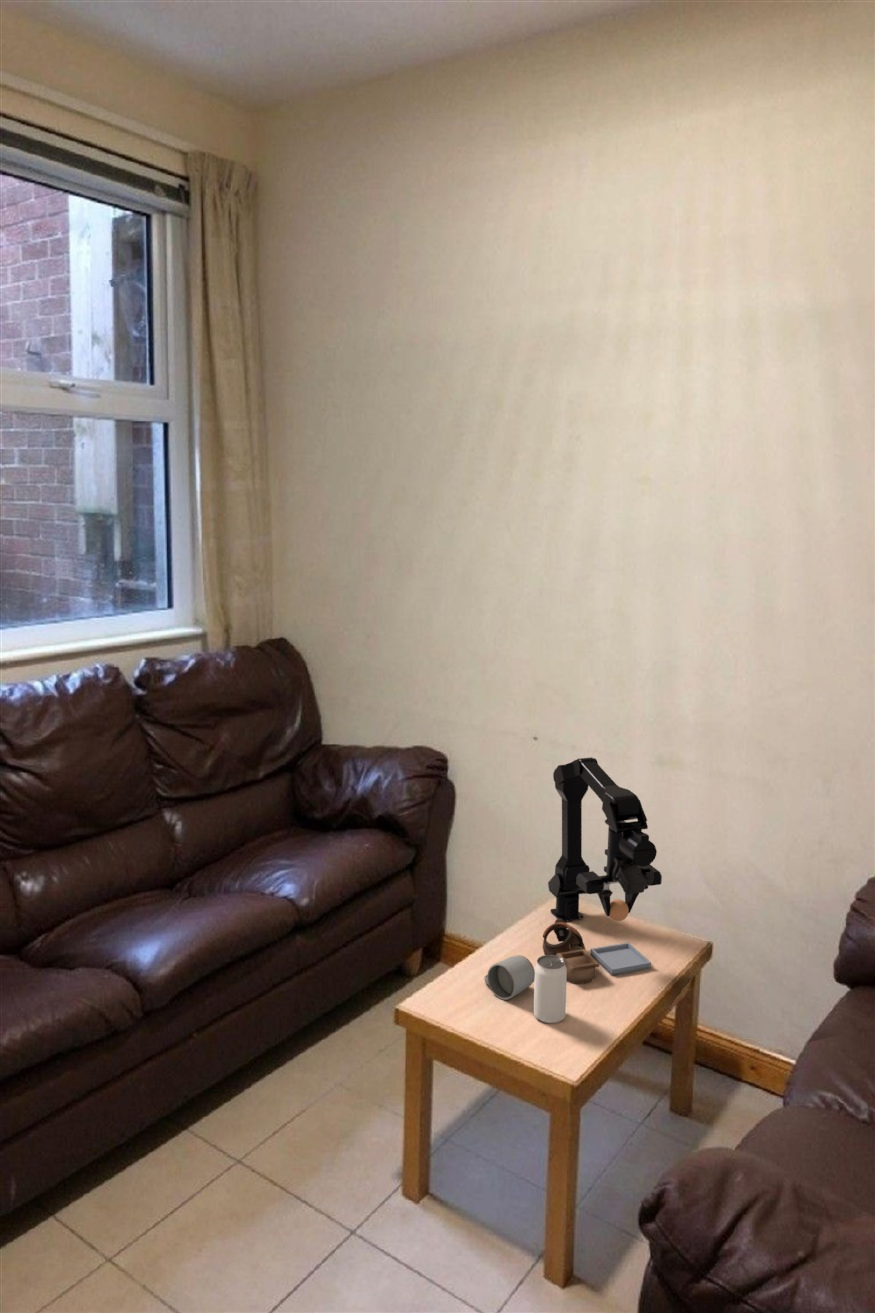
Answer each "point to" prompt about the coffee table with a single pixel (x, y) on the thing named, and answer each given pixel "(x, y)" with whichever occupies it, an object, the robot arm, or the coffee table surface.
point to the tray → (620, 958)
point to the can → (550, 989)
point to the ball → (618, 910)
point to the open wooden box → (579, 966)
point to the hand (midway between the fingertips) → (617, 914)
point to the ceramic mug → (510, 976)
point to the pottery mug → (562, 938)
